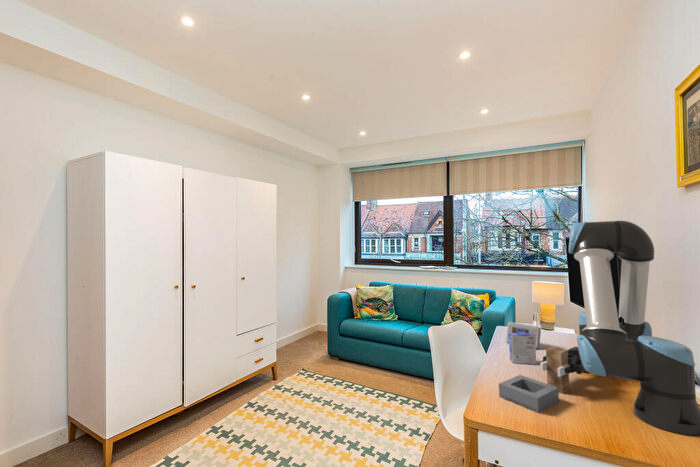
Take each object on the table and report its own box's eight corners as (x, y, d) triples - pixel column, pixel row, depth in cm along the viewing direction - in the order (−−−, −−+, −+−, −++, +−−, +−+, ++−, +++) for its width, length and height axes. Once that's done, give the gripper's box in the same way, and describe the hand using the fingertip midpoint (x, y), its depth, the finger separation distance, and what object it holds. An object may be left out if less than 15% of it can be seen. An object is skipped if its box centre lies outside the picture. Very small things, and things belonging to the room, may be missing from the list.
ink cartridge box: (532, 360, 145) (531, 327, 145) (537, 364, 140) (535, 330, 140) (508, 359, 147) (507, 326, 147) (512, 363, 141) (511, 330, 142)
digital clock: (503, 342, 171) (503, 322, 171) (514, 340, 175) (513, 320, 176) (534, 351, 157) (533, 329, 157) (544, 348, 161) (544, 326, 161)
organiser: (558, 401, 107) (558, 387, 107) (538, 413, 100) (537, 398, 100) (520, 387, 118) (519, 374, 118) (499, 396, 111) (498, 383, 111)
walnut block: (569, 389, 115) (567, 350, 116) (562, 393, 113) (560, 353, 113) (554, 384, 120) (552, 346, 120) (547, 388, 117) (545, 349, 117)
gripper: (608, 373, 118) (579, 390, 106) (555, 359, 134) (524, 372, 121) (607, 353, 119) (578, 366, 106) (555, 341, 134) (524, 352, 121)
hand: (550, 369), depth 114 cm, fingers closed on walnut block, 5 cm apart
